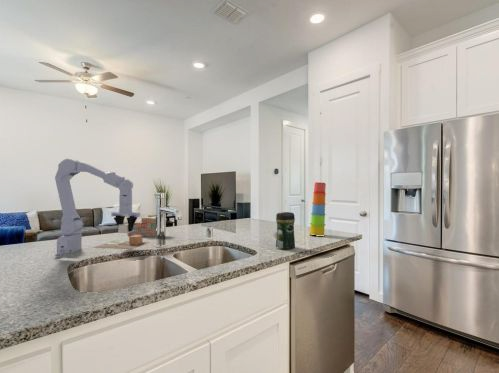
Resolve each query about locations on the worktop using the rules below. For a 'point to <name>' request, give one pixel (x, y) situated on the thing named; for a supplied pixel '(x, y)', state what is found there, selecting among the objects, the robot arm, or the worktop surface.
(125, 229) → the cream brick
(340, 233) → the worktop surface
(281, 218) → the coffee jar
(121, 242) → the build board
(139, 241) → the terracotta brick
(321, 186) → the stacking cups
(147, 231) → the stack of blocks
